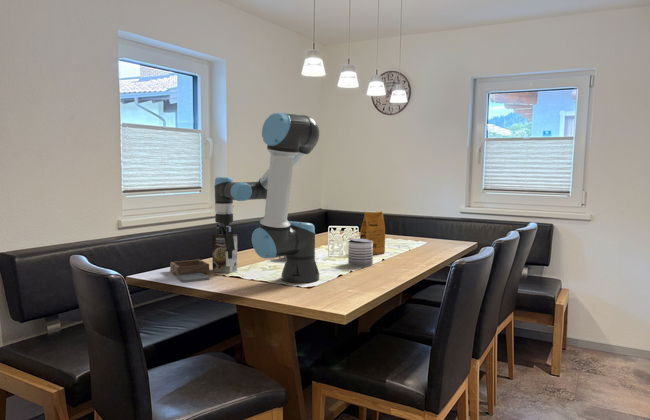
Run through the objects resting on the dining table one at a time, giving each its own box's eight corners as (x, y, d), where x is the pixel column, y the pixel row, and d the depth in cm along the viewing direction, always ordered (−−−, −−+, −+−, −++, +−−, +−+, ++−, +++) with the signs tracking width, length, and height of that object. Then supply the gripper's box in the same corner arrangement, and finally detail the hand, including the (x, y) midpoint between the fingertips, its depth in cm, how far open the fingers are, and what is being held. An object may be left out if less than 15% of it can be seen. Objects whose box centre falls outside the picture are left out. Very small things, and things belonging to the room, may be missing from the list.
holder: (209, 273, 205) (209, 264, 205) (178, 277, 198) (177, 267, 198) (200, 268, 216) (199, 259, 216) (170, 271, 209) (170, 262, 209)
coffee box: (211, 271, 209) (211, 234, 208) (220, 268, 215) (219, 232, 213) (229, 273, 205) (229, 235, 204) (238, 270, 211) (237, 233, 210)
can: (348, 262, 231) (348, 237, 230) (372, 262, 231) (372, 237, 230) (348, 266, 220) (348, 240, 219) (373, 267, 219) (373, 240, 218)
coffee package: (357, 252, 259) (358, 211, 257) (379, 251, 262) (379, 210, 260) (364, 255, 249) (364, 212, 247) (386, 254, 253) (387, 212, 251)
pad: (209, 279, 194) (209, 277, 194) (184, 282, 189) (183, 280, 189) (201, 274, 202) (201, 272, 202) (177, 277, 197) (177, 275, 197)
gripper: (242, 214, 200) (243, 267, 202) (223, 210, 220) (224, 258, 222) (224, 215, 196) (225, 269, 198) (207, 211, 216) (208, 260, 218)
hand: (224, 263), depth 210 cm, fingers closed on coffee box, 11 cm apart
